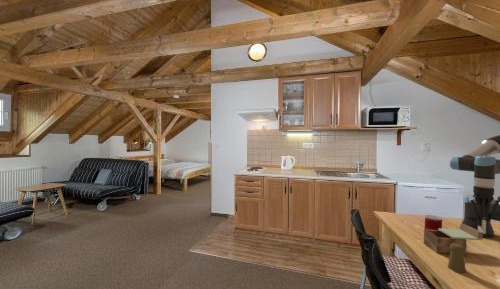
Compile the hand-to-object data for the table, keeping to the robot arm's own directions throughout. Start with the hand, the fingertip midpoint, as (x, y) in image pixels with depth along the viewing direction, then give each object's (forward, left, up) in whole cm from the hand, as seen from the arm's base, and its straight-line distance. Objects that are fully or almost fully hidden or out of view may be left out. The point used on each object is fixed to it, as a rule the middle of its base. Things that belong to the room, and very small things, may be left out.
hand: (481, 232), depth 119 cm
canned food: (+12, -18, -10) cm, 24 cm away
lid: (+10, 0, -2) cm, 10 cm away
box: (+17, 0, -10) cm, 20 cm away
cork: (+25, +20, -10) cm, 33 cm away
